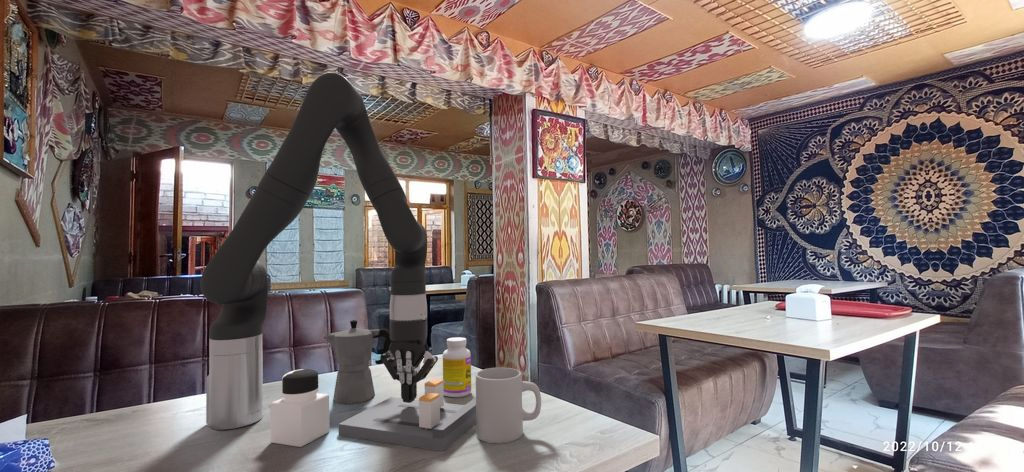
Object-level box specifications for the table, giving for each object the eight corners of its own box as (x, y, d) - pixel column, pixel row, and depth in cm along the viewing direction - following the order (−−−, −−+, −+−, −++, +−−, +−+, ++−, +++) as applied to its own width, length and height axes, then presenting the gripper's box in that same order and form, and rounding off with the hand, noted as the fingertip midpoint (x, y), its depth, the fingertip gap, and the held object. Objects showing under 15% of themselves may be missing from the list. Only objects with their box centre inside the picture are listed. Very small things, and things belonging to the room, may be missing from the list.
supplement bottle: (469, 398, 102) (468, 341, 102) (440, 398, 102) (439, 342, 102) (472, 389, 108) (471, 336, 109) (445, 389, 108) (444, 336, 109)
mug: (472, 443, 77) (471, 379, 78) (480, 424, 86) (479, 367, 86) (541, 445, 76) (539, 380, 77) (542, 425, 85) (541, 367, 85)
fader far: (424, 409, 88) (424, 383, 88) (433, 404, 91) (433, 379, 91) (435, 410, 87) (435, 384, 87) (443, 405, 90) (443, 380, 90)
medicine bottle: (330, 432, 84) (329, 367, 84) (300, 448, 77) (300, 378, 77) (300, 428, 86) (300, 365, 87) (269, 443, 79) (269, 375, 80)
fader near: (419, 427, 79) (418, 398, 79) (428, 420, 82) (428, 392, 82) (431, 428, 78) (430, 399, 78) (440, 422, 81) (439, 393, 81)
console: (338, 434, 82) (338, 415, 82) (390, 406, 97) (390, 390, 97) (443, 451, 75) (442, 430, 75) (482, 417, 89) (482, 399, 90)
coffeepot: (319, 406, 98) (318, 324, 99) (329, 393, 107) (328, 318, 108) (391, 401, 101) (390, 321, 101) (394, 388, 110) (394, 315, 111)
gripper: (370, 317, 90) (370, 403, 90) (426, 320, 86) (427, 411, 85) (392, 312, 97) (393, 392, 97) (445, 314, 93) (446, 399, 92)
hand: (409, 401), depth 91 cm, fingers closed
